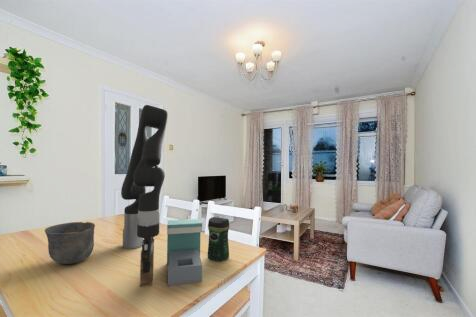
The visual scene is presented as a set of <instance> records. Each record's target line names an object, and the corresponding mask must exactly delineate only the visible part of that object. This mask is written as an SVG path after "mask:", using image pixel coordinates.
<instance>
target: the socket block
mask: <svg viewBox="0 0 476 317" xmlns="http://www.w3.org/2000/svg"><path fill="white" fill-rule="evenodd" d="M167 270H168V271H167V273H168V274H167V276H168V277H167V285H168V286H175V285H176V286H177V285H182V284H183V285H184V284H192V283H201V282H203V263H202V259H201V253H200V254H199V250H198V249H191V250H179V251H170V252H169V265H168V268H167Z"/></svg>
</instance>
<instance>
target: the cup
mask: <svg viewBox="0 0 476 317" xmlns="http://www.w3.org/2000/svg"><path fill="white" fill-rule="evenodd" d="M95 227H96V225H95V222H89V221H87V222H83V221H78V222H77V221H74V222H67V223H66V222H65V223H60V224H55V225H52V226H48V227H46V228H45V229H44V233H45V235H46V238H47V244H48V246H47V249H48V250H47V251H48V255H49V257H50V259H51V260H52V261H53V262H56V263H58V264H61V265H74V264H77V263H78V264H79V262H82V261H85V260H86V259H87V258H89V257H90V256H91V254H92V253H93V252H94V247H95V243H94V242H95V240H94V239H95V238H94V237H95Z"/></svg>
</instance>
